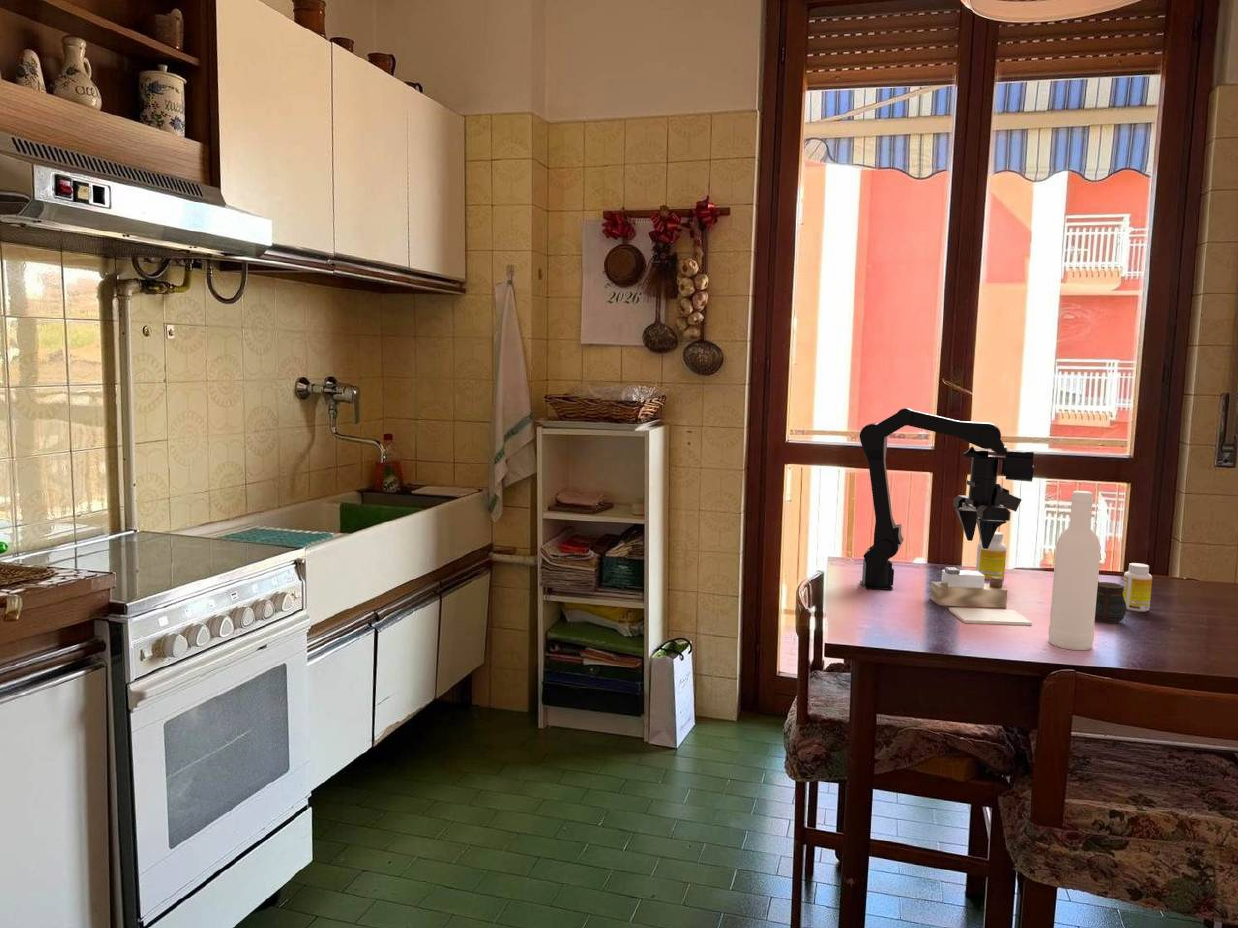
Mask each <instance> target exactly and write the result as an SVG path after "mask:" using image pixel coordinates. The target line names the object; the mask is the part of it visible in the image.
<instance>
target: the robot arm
mask: <svg viewBox="0 0 1238 928" xmlns="http://www.w3.org/2000/svg"><path fill="white" fill-rule="evenodd" d="M905 426H906V427H907V426H908V427H913V428H917V429H921V430H925V431H929V432H933V433H939V434H943V435H947V436H951V437H955V438H958V439H960V440H963V441H965V442H967V443H969V444H971V445H972V446H970V448H969V449H968V450H967V451H965V452H964V453H963V457H965V458H971V466H970V476H969V477H970V478H969V479H967V480H966V485H967V486H969V487H968V489H969V490H968V495H957V496H956V497H954V498H953V502H952V503H953V504H952V505H953V506H952V507H954V508H955V509H954V510H955V512H956V514H957V517H958V518H959V522H960V524H961V527H962V529H963V532H964V535H965V538H966V540H967V541H969V542H971V541H973V539H974V535H975V532H976V529H978V535H979V538H980V539H979V540H980V542H981V543H982V547H983V548H984V549H988V548H989V545H990V543H991V541H992V538H993V536H994V534H995V532H997V530H998V528H999V527H1000V526H1002V525H1004V524H1007V522H1009V521H1010V520H1011V511H1012V512H1017V510H1018V509H1019V507H1020V505H1021V502H1022V500H1023V499H1022V498H1020V497H1018V496H1015V495H1012V494H1010V490H1009V489H1008V488H1007V489H1006V488H1004V487H1002V486H1001V483H999V482H998V472H999V463H1000V462H999V461H1000V460H1001V467H1000V475H1001V476H1002V475H1003V477H1005V480H1007V481H1018V482H1021V481H1022V482H1029V483H1030V482H1031V483H1032V482H1033V479H1034V471H1035V470H1034V469H1035V468H1034V467H1035V466H1034V455H1035V453H1034V451H1030V450H1027V451H1026V450H1025V451H1019V450H1008V448H1007V445H1005V444H1004V442H1003V440H1002V439H1001V438H1002V433H1001V430H1000V428H999V426H998V425H996V424H995V423H993V422H987V421H986V422H985V421H983V422H981V421H964V420H962V421H961V420H957V419H953V418H949V417H944V416H939V415H935V414H930V413H926V412H922V411H918V410H913V409H911V408H909V407H908V408H907V407H904V408H901V409H899V410H898V411H897V412H895V414H892V415H891V416H889V417H887V418H886V419H884V420H882V421H880V422H879V423H878V422H872V423H869V424H867V425H865V426H863V427H862V428H861V430H860V432H859V440H860V444H861V447H862V451H863V452H864V453H863V454H864V455H865V458H866V461H867V464H868V471H869V476H870V477H869V478H870V486H871V492H872V501H873V511H874V517H875V520H874V521H875V523H874V532H873V544H872V545H871V546H870V547H869V548H867V550H866V551H865V553H864V554H863V558H864V559H863V560H862V573H861V574H862V575H861V578H862V579H861V580H860V581H859V583H860V584H861V585H862V586H863V587H864V589H868V590H870V589H871V590H873V589H874V590H894V587H893V586H894V580H895V579H894V576H895V569H894V568H893V562H892V561H891V560H890V559H891V558H893V557H895V556H896V555H897V554H898V551H899V550H900V548H901V545H902V543H903V541H904V540H905V539H904V537H903V535H902V523H899V524H896V522H895V520H894V517H893V511H892V503H891V494H890V486H889V479H888V471H887V462H886V456H887V448H888V437H889V436H890V435H892V434H893V433H895V432H897V431H899V430H901V429H902V428H903V427H905ZM973 445H974V446H976V447H978V448H981V449H984V450H980V449H979V450H977V449H975V447H974V446H973ZM989 450H990V451H993V452H994V453H995V454H996V455H993V454H989V452H990V451H989ZM1010 510H1011V511H1010ZM976 527H977V528H976Z"/></svg>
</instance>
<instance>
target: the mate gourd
mask: <svg viewBox="0 0 1238 928" xmlns="http://www.w3.org/2000/svg"><path fill="white" fill-rule="evenodd" d="M1123 591H1124V586H1123V584H1121V583H1116V582H1111V581H1099V580H1098V587H1097V598H1096V610H1095V621H1097V622H1100V623H1104V624H1118V623H1120V622H1121V621H1123V620H1124V618H1125V616H1126V613H1127V611H1128V610H1127V608H1126V603H1125V600H1124V597H1123Z"/></svg>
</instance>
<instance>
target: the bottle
mask: <svg viewBox="0 0 1238 928" xmlns="http://www.w3.org/2000/svg"><path fill="white" fill-rule="evenodd" d="M1071 495H1072V496H1071V497H1070V501H1071V504H1070V517H1069V526H1068V527H1067V528H1066V529H1065V530H1064V531H1062V532H1061V533H1060V534H1059V537H1058V539H1057V541H1056V543H1055V544H1056V545H1055V553H1054V554H1055V556H1054V569H1053V577H1052V579H1053V580H1052V581H1053V582H1052V590H1051V591H1052V592H1051V605H1050V606H1051V607H1050V615H1049V616H1050V617H1049V618H1050V619H1049V625H1048V632H1047V633H1048V643H1049V644H1051V645H1052V646H1054V647H1057V648H1061V649H1065V650H1071V651H1090V650H1092V649H1093V643H1094V639H1095V637H1094V636H1095V630H1094V629H1095V621H1096V620H1095V610H1096V598H1097V587H1098V581H1099V574H1100V573H1099V571H1100V563H1101V562H1100V561H1101V551H1102V546H1101V543H1100V540H1099V536H1098V535H1097V534H1096V533H1095V532H1094V531H1093V530H1092V529H1091V525H1092V513H1093V503H1094V500H1095V499H1094V493H1093V492H1092V491H1086V490H1074V491H1072V493H1071Z"/></svg>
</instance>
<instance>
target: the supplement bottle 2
mask: <svg viewBox="0 0 1238 928" xmlns="http://www.w3.org/2000/svg"><path fill="white" fill-rule="evenodd" d="M1128 564H1129V565H1128V570H1127V571H1125V572H1124V574H1123V582H1122V583H1123V584H1122V585H1123V586H1124V591H1123V597H1124V600H1125V603H1126V608H1127V610H1126V611H1132V612H1140V613H1141V612H1143V613H1144V612H1148V611H1149V610H1150V606H1151V596H1152V584H1153V576H1152V575H1151V574H1150V573H1149V571H1150V565H1148V564H1145V563H1139V562H1138V563H1137V562H1131V563H1128Z"/></svg>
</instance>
